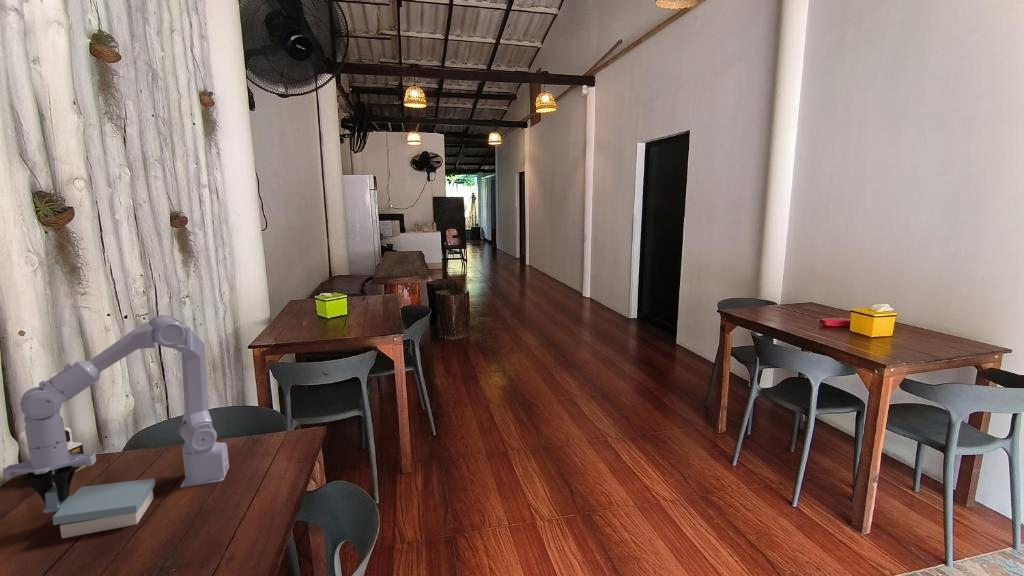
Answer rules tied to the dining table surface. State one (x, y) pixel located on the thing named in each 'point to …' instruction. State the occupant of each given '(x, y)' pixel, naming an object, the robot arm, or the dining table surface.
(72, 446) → the medicine bottle
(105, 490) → the lid
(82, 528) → the tub
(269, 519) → the dining table surface
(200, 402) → the robot arm
